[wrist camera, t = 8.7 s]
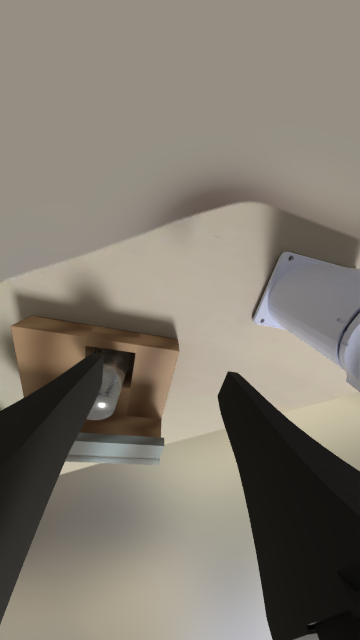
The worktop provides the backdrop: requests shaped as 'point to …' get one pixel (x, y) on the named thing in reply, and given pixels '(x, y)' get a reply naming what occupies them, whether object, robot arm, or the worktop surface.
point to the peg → (110, 383)
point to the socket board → (136, 394)
